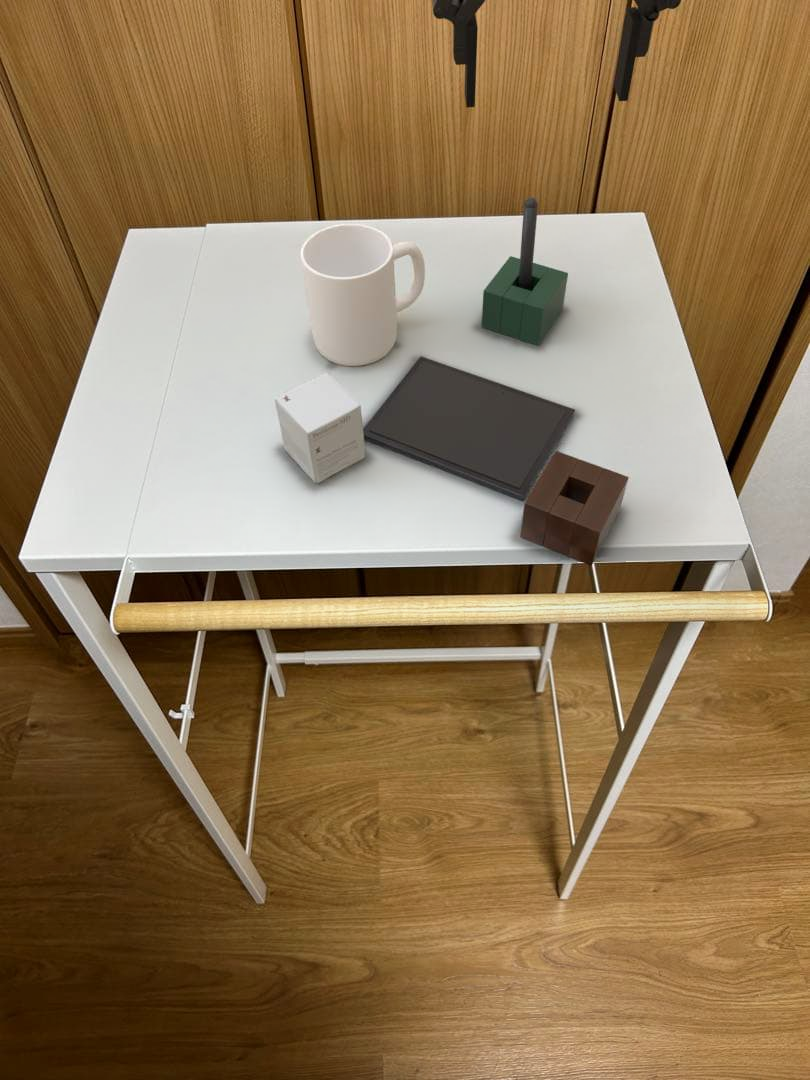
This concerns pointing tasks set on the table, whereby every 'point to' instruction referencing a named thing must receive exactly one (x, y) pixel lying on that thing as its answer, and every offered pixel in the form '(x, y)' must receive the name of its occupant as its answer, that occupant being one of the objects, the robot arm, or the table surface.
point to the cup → (356, 291)
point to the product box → (321, 427)
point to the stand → (523, 302)
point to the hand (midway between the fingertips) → (545, 97)
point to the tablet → (469, 426)
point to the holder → (573, 507)
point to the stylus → (527, 243)
